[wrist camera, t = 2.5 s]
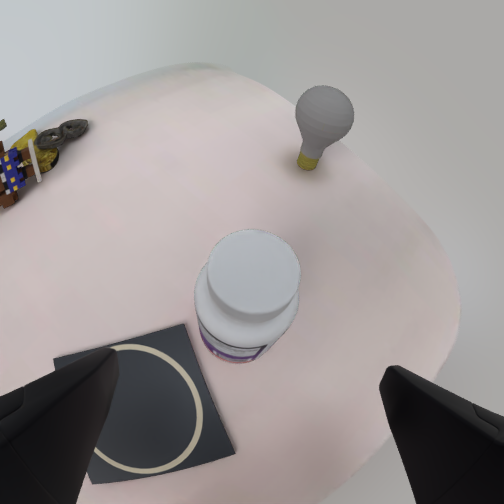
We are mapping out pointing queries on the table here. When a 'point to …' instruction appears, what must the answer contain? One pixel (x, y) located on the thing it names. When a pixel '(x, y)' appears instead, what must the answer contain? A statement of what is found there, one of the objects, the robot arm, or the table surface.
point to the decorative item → (38, 152)
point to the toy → (2, 124)
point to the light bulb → (321, 122)
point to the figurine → (15, 171)
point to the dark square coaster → (156, 411)
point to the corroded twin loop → (60, 134)
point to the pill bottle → (247, 295)
